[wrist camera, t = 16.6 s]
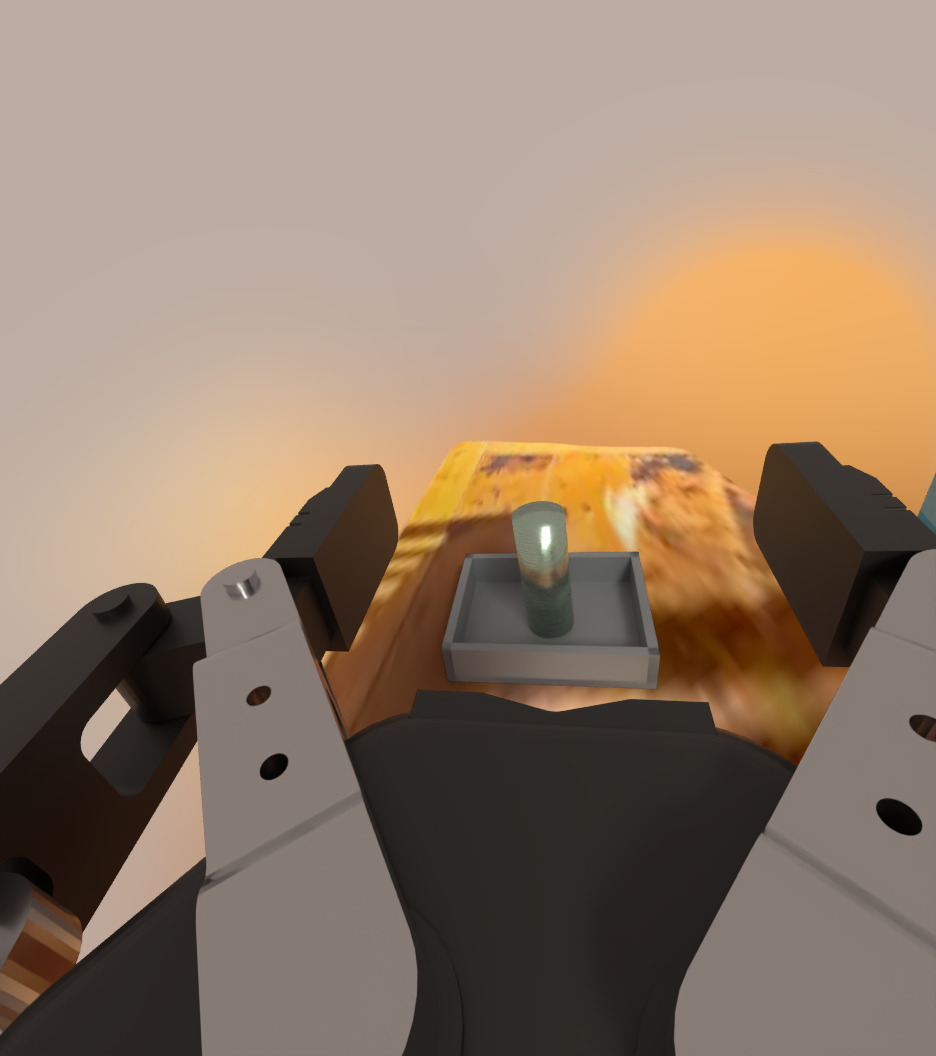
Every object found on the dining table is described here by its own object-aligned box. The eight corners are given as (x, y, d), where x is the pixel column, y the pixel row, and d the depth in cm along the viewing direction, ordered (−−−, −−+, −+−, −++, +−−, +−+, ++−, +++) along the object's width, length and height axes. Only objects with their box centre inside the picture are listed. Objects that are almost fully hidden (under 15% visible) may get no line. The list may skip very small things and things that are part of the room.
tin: (571, 604, 50) (562, 498, 43) (576, 636, 46) (566, 525, 40) (527, 607, 50) (511, 504, 44) (528, 639, 47) (511, 531, 40)
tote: (636, 582, 52) (638, 551, 50) (656, 689, 41) (659, 655, 39) (470, 582, 56) (466, 553, 54) (448, 680, 45) (441, 649, 43)
